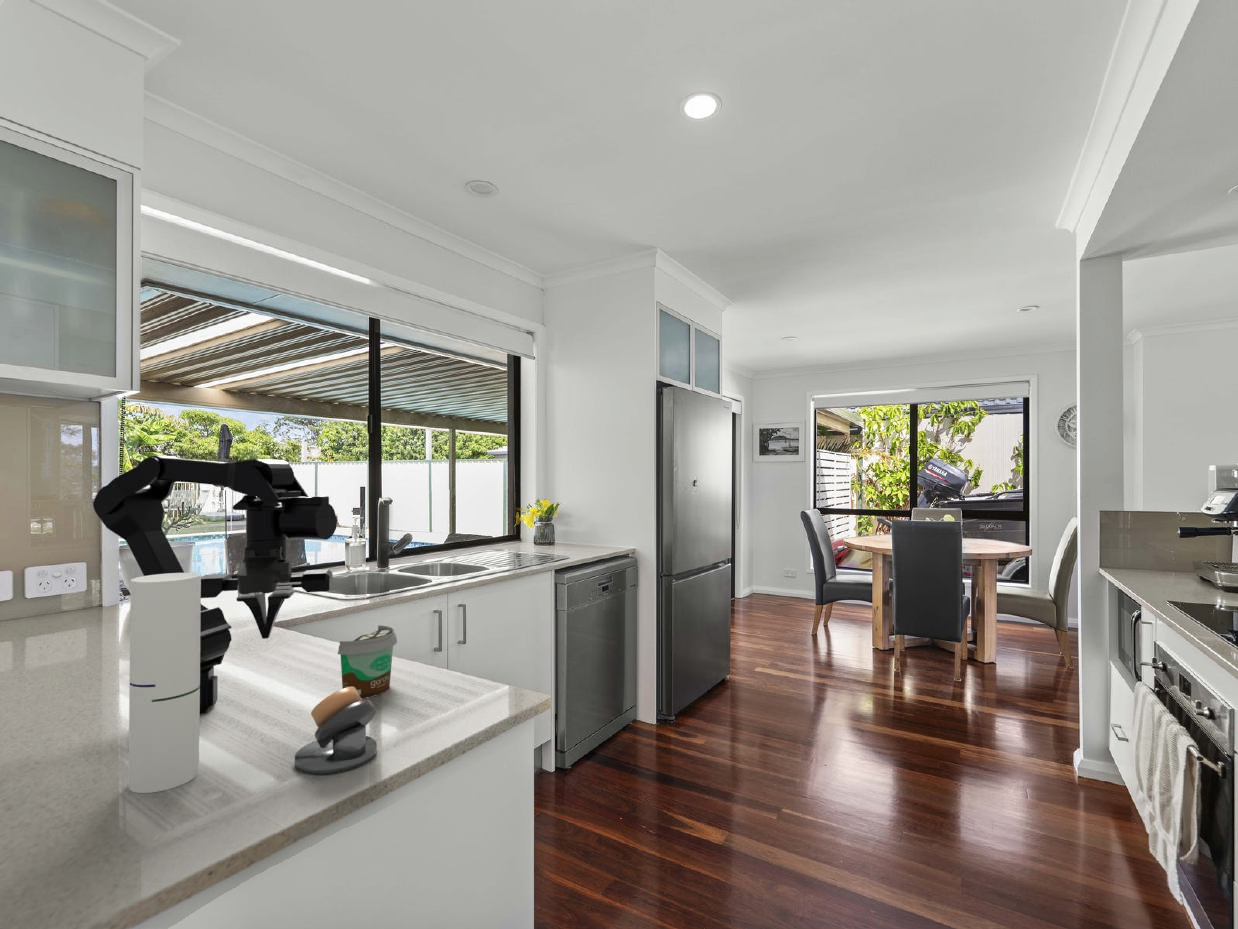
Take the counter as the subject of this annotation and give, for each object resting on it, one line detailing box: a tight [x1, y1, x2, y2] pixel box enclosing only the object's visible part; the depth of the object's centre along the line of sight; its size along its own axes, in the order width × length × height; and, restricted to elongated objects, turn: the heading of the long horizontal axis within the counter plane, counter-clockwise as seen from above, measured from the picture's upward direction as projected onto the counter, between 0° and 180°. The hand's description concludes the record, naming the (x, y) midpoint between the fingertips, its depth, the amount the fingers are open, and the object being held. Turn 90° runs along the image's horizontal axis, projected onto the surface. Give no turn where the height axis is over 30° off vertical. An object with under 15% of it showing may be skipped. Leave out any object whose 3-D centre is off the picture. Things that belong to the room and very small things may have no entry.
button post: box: [294, 699, 378, 776], centre depth 85 cm, size 10×10×8 cm
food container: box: [337, 624, 398, 699], centre depth 111 cm, size 12×6×10 cm, turn 168°
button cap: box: [310, 687, 363, 729], centre depth 85 cm, size 6×6×6 cm
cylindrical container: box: [127, 572, 202, 794], centre depth 79 cm, size 7×7×25 cm
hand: (265, 638), depth 100 cm, fingers closed
